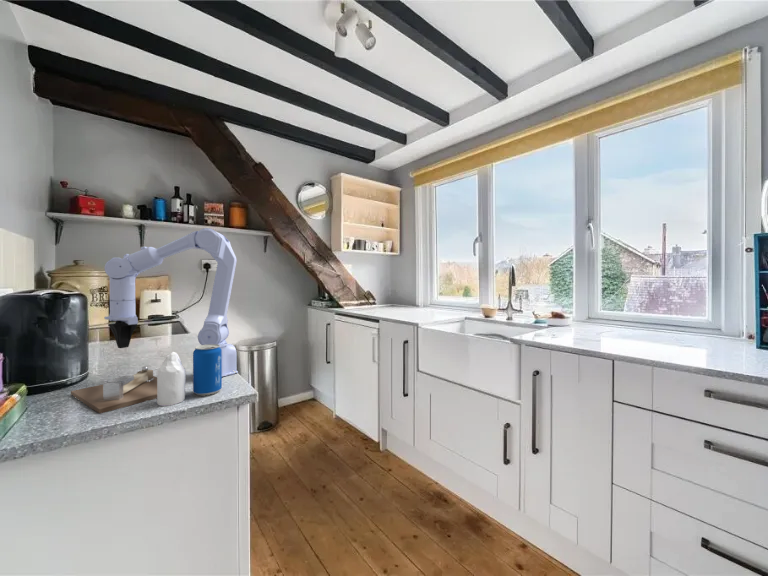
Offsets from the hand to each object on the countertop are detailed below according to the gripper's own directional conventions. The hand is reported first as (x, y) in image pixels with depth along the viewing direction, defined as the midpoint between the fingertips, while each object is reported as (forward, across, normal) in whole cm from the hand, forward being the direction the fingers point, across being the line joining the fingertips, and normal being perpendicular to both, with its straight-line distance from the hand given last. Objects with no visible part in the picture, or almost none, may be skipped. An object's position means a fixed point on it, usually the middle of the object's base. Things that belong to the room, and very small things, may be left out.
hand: (123, 347), depth 91 cm
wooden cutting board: (+9, +14, -4) cm, 17 cm away
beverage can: (+10, +30, +8) cm, 32 cm away
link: (+8, +13, -2) cm, 15 cm away
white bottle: (+10, +29, 0) cm, 31 cm away
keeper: (+8, +14, -3) cm, 16 cm away
